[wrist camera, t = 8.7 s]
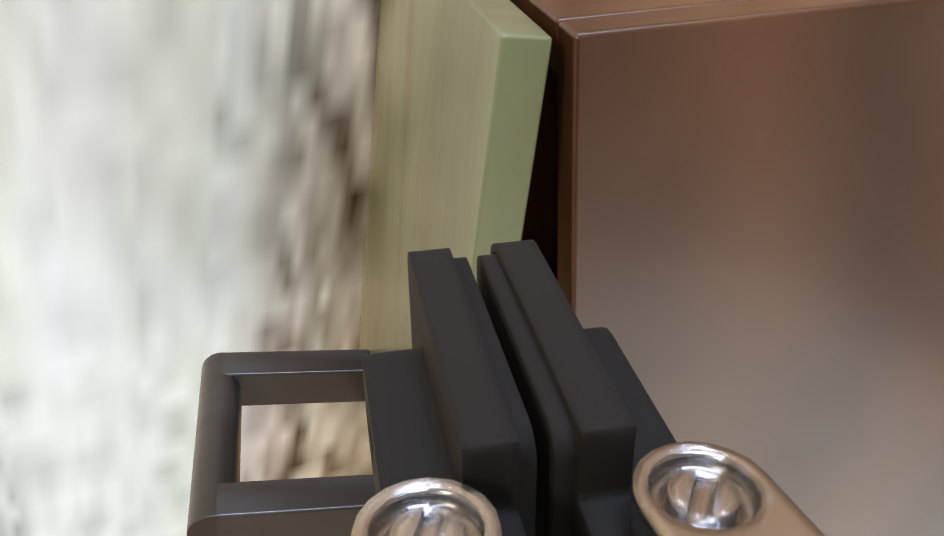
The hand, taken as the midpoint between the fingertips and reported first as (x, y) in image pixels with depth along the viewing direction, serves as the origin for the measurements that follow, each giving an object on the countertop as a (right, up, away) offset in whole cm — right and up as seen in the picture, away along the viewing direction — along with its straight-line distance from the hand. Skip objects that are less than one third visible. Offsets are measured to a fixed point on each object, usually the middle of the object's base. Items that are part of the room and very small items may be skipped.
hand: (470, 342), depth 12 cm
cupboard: (+4, +5, +17) cm, 18 cm away
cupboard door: (-5, +4, +15) cm, 17 cm away
